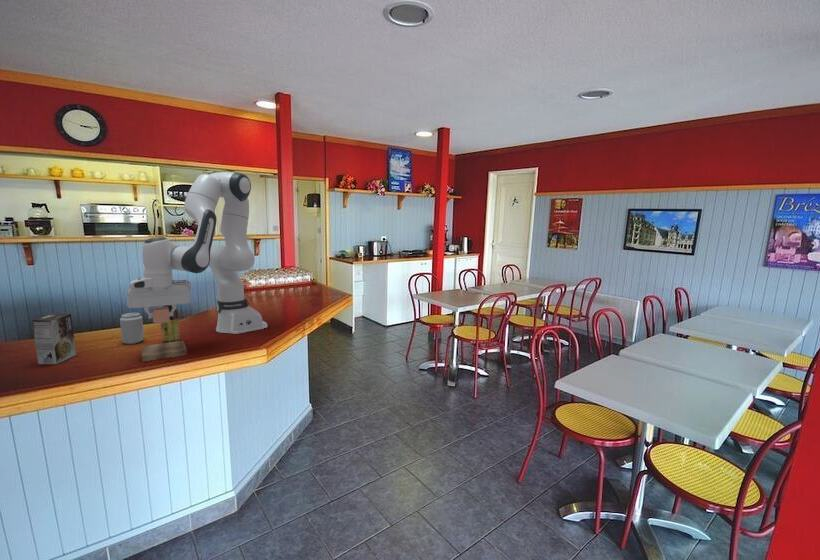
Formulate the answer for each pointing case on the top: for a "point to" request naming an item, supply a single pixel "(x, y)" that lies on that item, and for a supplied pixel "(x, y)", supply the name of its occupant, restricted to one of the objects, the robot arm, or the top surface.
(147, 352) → the serving board
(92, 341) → the top surface
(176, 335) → the sauce bottle
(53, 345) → the coffee box
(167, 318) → the cube
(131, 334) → the can
